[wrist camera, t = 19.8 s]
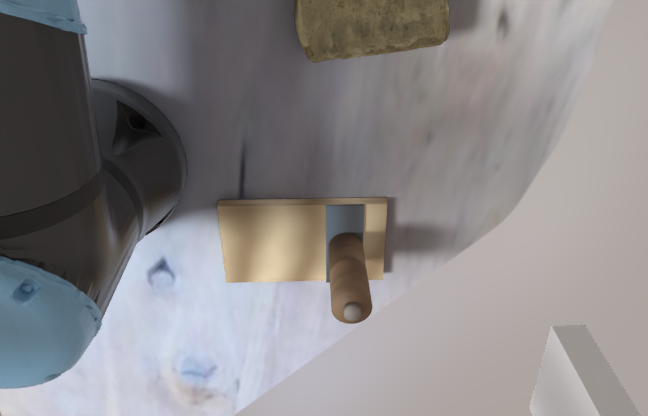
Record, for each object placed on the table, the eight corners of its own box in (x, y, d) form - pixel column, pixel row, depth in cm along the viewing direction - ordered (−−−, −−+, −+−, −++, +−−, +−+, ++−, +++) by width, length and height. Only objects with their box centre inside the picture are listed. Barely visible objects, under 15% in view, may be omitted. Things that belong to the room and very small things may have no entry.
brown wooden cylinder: (328, 261, 55) (332, 330, 46) (327, 233, 53) (331, 299, 45) (362, 260, 55) (372, 329, 46) (363, 231, 53) (373, 298, 45)
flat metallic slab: (227, 275, 57) (226, 284, 56) (182, -92, 40) (178, -91, 39) (381, 272, 58) (383, 281, 56) (402, -94, 40) (405, -93, 39)
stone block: (440, 30, 45) (453, 46, 41) (301, 51, 46) (300, 69, 42) (437, -47, 42) (451, -38, 38) (289, -22, 43) (286, -11, 39)
